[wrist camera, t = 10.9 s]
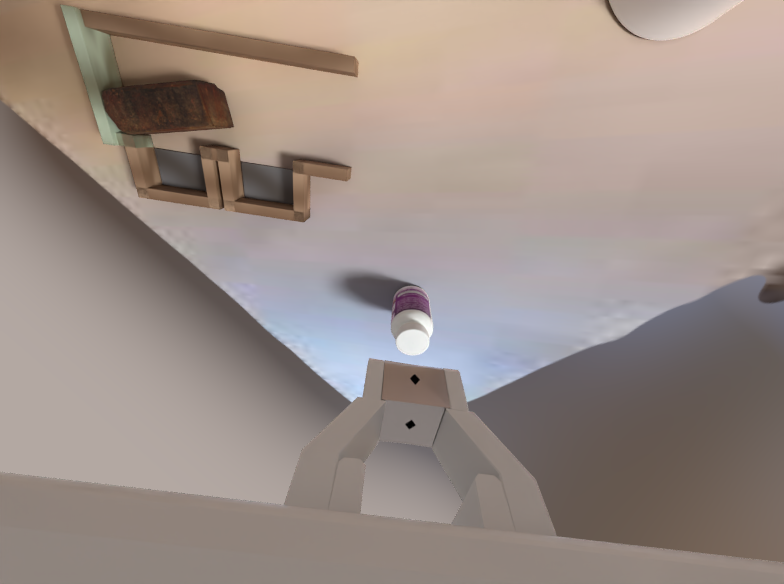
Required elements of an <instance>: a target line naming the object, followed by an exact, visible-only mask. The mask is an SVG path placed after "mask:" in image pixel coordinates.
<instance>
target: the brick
mask: <svg viewBox="0 0 784 584" xmlns="http://www.w3.org/2000/svg"><path fill="white" fill-rule="evenodd" d="M102 99H103V100H104V109H105V111H106V113H107V114H108V116H109V117H110V118H111V119H112V121H113V122H114V123H115V124H116V125H117V127H118V129H119V130H121V131H122V132H124V133H127V134H157V133H170V132H186V131H196V130H209V129H222V128H231V127H234V126H233V122H232V118H231V114H230V111H229V107H228V104H227V100H226V96H225V93H224V92H223V91H222V90H220V89H219V88H217V86H216V85H215V84H212V83H207V82H203V81H196V80H190V81H180V82H169V83H158V84H147V85H136V86H127V87H116V88H109V89H108V90H105V91H103V92H102Z"/></svg>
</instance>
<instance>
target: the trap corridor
mask: <svg viewBox="0 0 784 584" xmlns="http://www.w3.org/2000/svg"><path fill="white" fill-rule="evenodd" d="M61 9H62V12H63V15H64V18H65V22H66V25H67V28H68V31H69V34H70V38H71V41H72V44H73V47H74V51H75V54H76V57H77V60H78V63H79V67H80V70H81V73H82V76H83V80H84V83H85V86H86V89H87V92H88V96H89V99H90V102H91V105H92V109H93V112H94V115H95V118H96V121H97V125H98V128H99V131H100V134H101V138H102V141H103V144H109V145H120V146H125V149H126V153H127V156H128V160H129V164H130V167H131V171H132V174H133V178H134V181H135V185H136V189H137V192H138V196H139V197H141V198H147V199H154V200H161V201H167V202H174V203H180V204H187V205H193V206H200V207H207V208H213V209H222V208H225V210H226V211H233V212H239V213H246V214H253V215H259V216H266V217H272V218H279V219H285V220H292V221H299V222H305V221H306V220H307V219H308V218H309V217H310V176H316V177H323V178H329V179H335V180H342V181H348V180H349V179H350V178H351V167H346V166H340V165H334V164H327V163H321V162H315V161H308V160H302V159H298V160H295V161H293V170H290V169H284V168H277V167H271V166H265V165H258V164H252V163H246V162H240V152H239V149H233V148H227V147H221V146H215V145H209V146H199V148H200V154H201V155H195V154H189V153H183V152H176V151H170V150H164V149H157V148H154V147H153V142H152V138H151V135H146V134H127V133H124V132H122V131H121V130H119V129H118V127H117V125H116V124H115V123H114V122H113V121H112V119H111V118H110V117H109V116H108V114H107V113H106V111H105V109H104V100H103V99H102V92H103V91H105V90H108V89H109V88H116V87H123V85H122V81H121V78H120V74H119V70H118V66H117V62H116V58H115V54H114V51H113V47H112V43H111V39H110V35H114V36H120V37H126V38H132V39H137V40H143V41H149V42H155V43H161V44H167V45H173V46H178V47H184V48H190V49H196V50H202V51H208V52H214V53H219V54H225V55H231V56H237V57H243V58H249V59H255V60H260V61H266V62H272V63H278V64H284V65H290V66H296V67H301V68H307V69H313V70H319V71H325V72H331V73H337V74H342V75H348V76H354V77H358V61H357V59H356V58H355V57H354V56H348V55H342V54H337V53H331V52H325V51H319V50H313V49H308V48H302V47H296V46H290V45H285V44H279V43H273V42H267V41H262V40H256V39H250V38H244V37H238V36H233V35H227V34H221V33H215V32H210V31H204V30H198V29H192V28H186V27H181V26H175V25H169V24H163V23H158V22H152V21H146V20H140V19H134V18H129V17H123V16H117V15H111V14H106V13H100V12H94V11H88V10H82V9H78V8H76V7H72V6H66V5H61ZM154 149H155V151H154ZM155 154H156V155H155ZM156 158H157V159H156ZM157 162H158V164H157ZM241 164H242V171H241ZM158 166H159V168H158ZM159 171H160V172H159ZM242 173H243V181H242ZM160 175H161V176H160ZM161 179H162V181H161ZM162 183H163V185H162ZM243 183H244V190H243ZM167 185H170V186H167ZM174 186H176V187H174ZM180 187H183V188H180ZM187 188H189V189H187ZM193 189H196V190H193ZM200 190H202V191H200ZM206 191H207V192H206ZM244 192H245V197H248V198H245V197H244ZM252 198H254V199H252ZM258 199H261V200H258ZM265 200H267V201H265ZM271 201H274V202H271ZM278 202H280V203H278ZM284 203H287V204H284ZM291 204H293V205H291Z"/></svg>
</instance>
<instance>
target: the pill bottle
mask: <svg viewBox="0 0 784 584" xmlns="http://www.w3.org/2000/svg"><path fill="white" fill-rule="evenodd" d="M391 332H392V334H393V336H394V338H395V339H396V346H397V348H398V349H399V350H400V351H401V352H402V353H404V354H407V355H419V354H421V353H423V352H424V351H426V349H427V348H428V346H429V338H430V336H431V335H432V332H433V322H432V316H431V309H430V302H429V297H428V295H427V293H426V292H425V291H424V290H423V289H422V288H420V287H417V286H405V287H403V288H401V289H399V290H398V291H397V292H396V294H395V295H394V298H393V306H392V319H391Z"/></svg>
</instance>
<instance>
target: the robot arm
mask: <svg viewBox="0 0 784 584" xmlns="http://www.w3.org/2000/svg"><path fill="white" fill-rule="evenodd" d="M743 1H744V0H609V2H610V5H611V7H612V10H613V12H614V13H615V15H616V17H617V18H618V20H619V21H620V22H621V24H622V25H623V26H624V27H625V28H626V29H628V30H629V31H630V32H632V33H633V34H635V35H637V36H639V37H642V38H645V39H649V40H671V39H676V38H680V37H684V36H687V35H689V34H692V33H694V32H696V31H698V30H700V29H702V28H704V27H706V26H708V25H709V24H711V23H712V22H714V21H715V20H717V19H718V18H720V17H721V16H722V15H724V14H725V13H726V12H728V11H729V10H731V9H732V8H734V7H735V6H737V5H738V4H740V3H741V2H743ZM379 441H385V442H397V443H406V444H412V445H419V446H425V447H432V450H433V452H434V453H435V455H436V457H437V458H438V460H439V462H440V464H441V465H442V467H443V469H444V470H445V472H446V474H447V476H448V477H449V479H450V481H451V482H452V484H453V486H454V488H455V489H456V491H457V493H458V494H459V496H460V498H461V500H462V501H463V502H462V504H461V506H460V508H459V510H458V512H457V514H456V516H455V518H454V520H453V522H452V524H445V523H437V522H427V521H419V520H411V519H402V518H393V517H384V516H375V515H367V514H360V511H361V501H362V491H363V483H364V474H365V464H364V462H365V461H366V459H367V458H368V456H369V455H370V454H371V452H372V451H373V449H374V448H375V447H376V445H377V444H378V442H379ZM0 584H784V563H782V562H773V561H764V560H756V559H747V558H739V557H730V556H720V555H712V554H704V553H695V552H687V551H678V550H669V549H660V548H652V547H643V546H635V545H626V544H617V543H609V542H599V541H591V540H583V539H574V538H565V537H557V535H556V532H555V530H554V527H553V524H552V522H551V519H550V516H549V514H548V511H547V508H546V506H545V503H544V500H543V498H542V495H541V493H540V490H539V487H538V484H537V482H536V479H535V478H534V477H533V476H532V475H531V474H530V473H529V472H528V471H527V470H526V469H525V467H524V466H523V465H522V464H521V463H520V462H519V461H518V460H517V459H516V458H515V457H514V456H513V454H511V452H510V451H509V450H508V449H507V448H506V447H505V446H504V445H503V444H502V442H501V441H500V440H499V439H498V438H497V437H496V436H495V435H494V434H493V433H492V432H491V431H490V429H489V428H488V427H487V426H486V425H485V424H484V423H483V422H482V421H481V420H480V419H479V418H478V416H477V415H476V414H475V413H474V412H470V411H469V410H468V406H467V401H466V397H465V393H464V389H463V384H462V380H461V376H460V372H459V371H458V370H452V369H444V368H443V369H442V368H434V367H426V366H419V365H411V364H404V363H398V362H392V361H386V360H385V361H383V360H377V359H371V358H369V361H368V366H367V373H366V379H365V385H364V391H363V398H362V397H357V398H356V399H355V400H354V401H353V402H352V403H351V404H350V405H349V406H348V407H347V408H346V409H345V410H344V411H343V412H342V413H341V414H339V415H338V416H337V417H336V418H335V419H334V420H333V421H332V422H331V423H330V424H329V425H328V426H327V427H326V428H325V429H324V430H323V431H322V432H320V433H319V434H318V435H317V436H316V437H315V438H314V439H313V440H312V441H311V442H310V443H309V444H308V445H307V446H306V447H305V448H304V449H302V451H301V454H300V457H299V461H298V463H297V466H296V469H295V473H294V476H293V479H292V481H291V485H290V488H289V491H288V494H287V497H286V500H285V503H284V505H281V504H271V503H263V502H254V501H246V500H237V499H228V498H220V497H211V496H202V495H194V494H185V493H177V492H167V491H159V490H151V489H142V488H133V487H125V486H116V485H107V484H98V483H90V482H81V481H73V480H65V479H56V478H47V477H39V476H30V475H22V474H13V473H5V472H0Z"/></svg>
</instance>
